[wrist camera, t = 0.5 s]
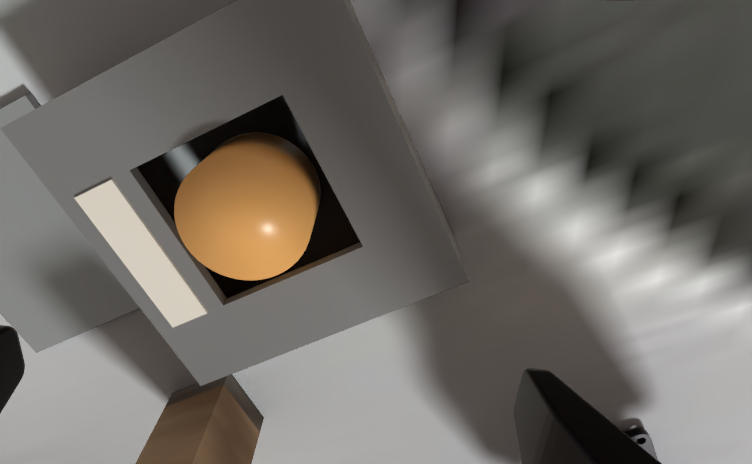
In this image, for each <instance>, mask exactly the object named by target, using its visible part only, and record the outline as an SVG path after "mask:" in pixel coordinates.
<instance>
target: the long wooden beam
mask: <svg viewBox="0 0 752 464" xmlns="http://www.w3.org/2000/svg"><path fill="white" fill-rule="evenodd" d="M262 422H263V416H262V415H261V414H260V412H259V411H258V409H257V408H256V407H255V405H254V404H253V403H252V401H251V400H250V399H249V397H248V396H247V394H246V393H245V392H244V390H243V389H242V388H241V386H240V385H239V384H238V382H237V381H236V380H235V378H234V377H233V375H232V374H230V375H228V376H225V377H223V378H220V379H218V380H215V381H213V382H210V383H207V384H205V385H202V386H200V385H199V383H198V384H195V385H192V386H190V387H187V388H185V389H182V390H180V391H177V392H175V393H172V395H171V397H170V399H169V401H168V403H167V405H166V407H165V408H164V410H163V412H162V414H161V416H160V418H159V420H158V422H157V424H156V426H155V427H154V429H153V431H152V433H151V435H150V437H149V439H148V441H147V443H146V445H145V447H144V448H143V450H142V452H141V454H140V456H139V458H138V460H137V462H136V464H251V462H252V459H253V455H254V451H255V448H256V444H257V440H258V437H259V433H260V429H261V426H262Z"/></svg>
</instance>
